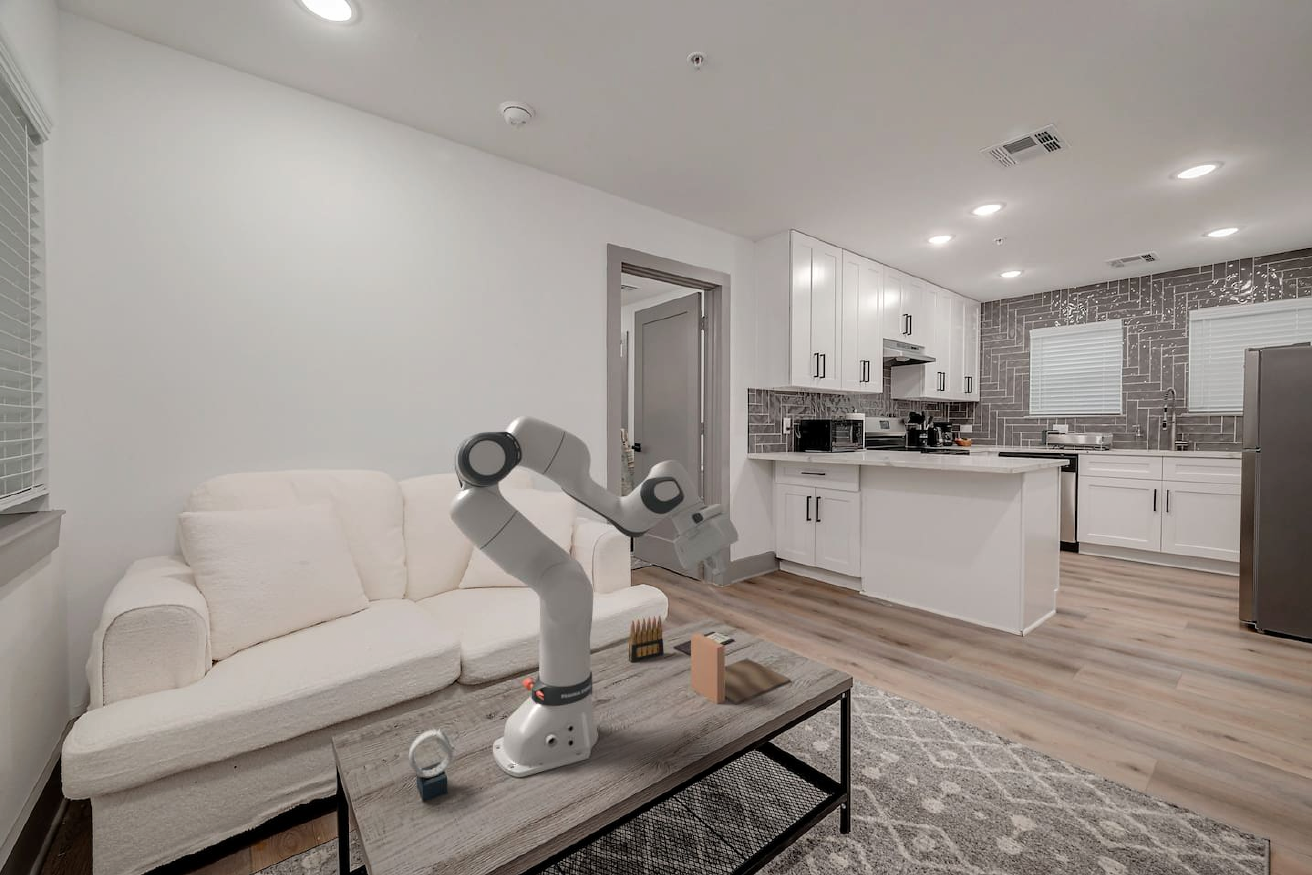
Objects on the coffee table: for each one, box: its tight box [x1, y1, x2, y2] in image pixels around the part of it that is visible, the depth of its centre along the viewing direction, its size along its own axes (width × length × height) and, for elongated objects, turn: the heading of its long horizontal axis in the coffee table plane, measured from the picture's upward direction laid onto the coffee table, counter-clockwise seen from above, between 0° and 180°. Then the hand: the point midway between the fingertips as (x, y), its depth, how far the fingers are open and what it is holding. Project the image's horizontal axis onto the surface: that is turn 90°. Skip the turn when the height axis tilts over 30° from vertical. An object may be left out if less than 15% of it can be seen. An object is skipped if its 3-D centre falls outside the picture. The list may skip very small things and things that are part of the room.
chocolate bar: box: [673, 631, 735, 657], centre depth 171 cm, size 9×1×18 cm
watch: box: [408, 728, 455, 803], centre depth 104 cm, size 6×8×11 cm
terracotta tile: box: [690, 632, 726, 705], centre depth 140 cm, size 3×10×14 cm, turn 36°
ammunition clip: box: [628, 614, 664, 664], centre depth 161 cm, size 11×2×12 cm, turn 118°
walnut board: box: [725, 658, 791, 705], centre depth 147 cm, size 20×16×1 cm
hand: (720, 573), depth 129 cm, fingers closed
